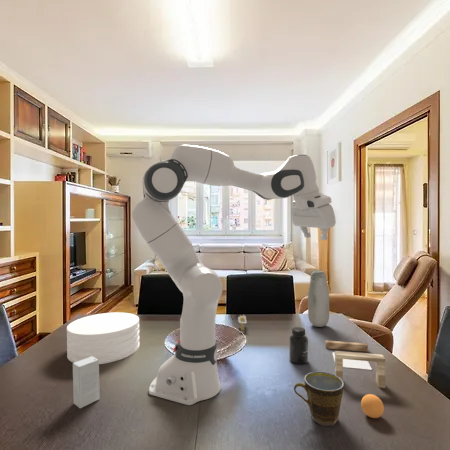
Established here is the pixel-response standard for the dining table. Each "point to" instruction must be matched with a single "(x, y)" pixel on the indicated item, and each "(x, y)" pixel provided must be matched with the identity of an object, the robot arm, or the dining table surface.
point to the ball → (372, 406)
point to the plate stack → (103, 337)
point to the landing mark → (355, 363)
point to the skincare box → (86, 381)
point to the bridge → (363, 357)
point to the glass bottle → (318, 299)
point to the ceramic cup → (323, 396)
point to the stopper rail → (346, 345)
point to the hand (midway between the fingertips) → (315, 238)
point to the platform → (242, 321)
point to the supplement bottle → (298, 346)
